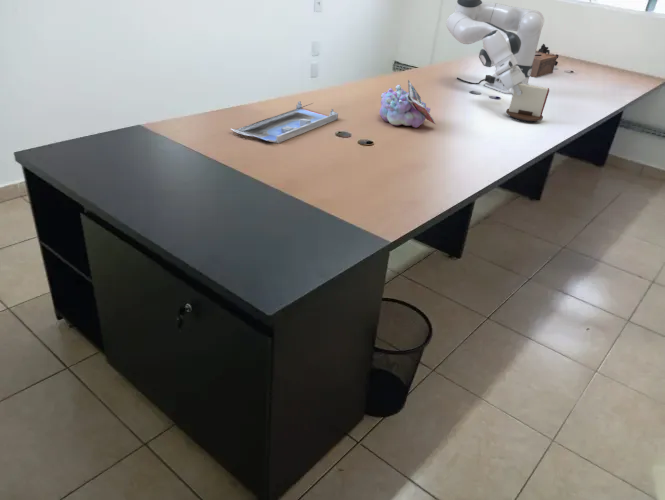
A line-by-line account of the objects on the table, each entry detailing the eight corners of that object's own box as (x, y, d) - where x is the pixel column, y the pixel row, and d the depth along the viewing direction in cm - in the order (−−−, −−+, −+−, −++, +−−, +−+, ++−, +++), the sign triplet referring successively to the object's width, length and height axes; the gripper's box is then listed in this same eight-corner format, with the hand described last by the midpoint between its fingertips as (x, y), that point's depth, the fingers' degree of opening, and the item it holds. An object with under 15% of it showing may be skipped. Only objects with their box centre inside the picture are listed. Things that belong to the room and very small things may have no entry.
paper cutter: (337, 119, 218) (339, 105, 215) (267, 147, 184) (268, 131, 181) (300, 108, 225) (301, 94, 222) (226, 133, 191) (226, 117, 188)
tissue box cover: (530, 67, 351) (535, 51, 346) (552, 72, 343) (557, 56, 338) (513, 71, 333) (517, 54, 328) (535, 77, 326) (540, 59, 321)
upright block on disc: (505, 116, 241) (513, 86, 234) (506, 107, 254) (513, 79, 247) (543, 123, 238) (552, 93, 231) (541, 113, 251) (550, 85, 244)
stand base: (504, 116, 246) (505, 113, 245) (517, 112, 254) (518, 110, 253) (529, 124, 239) (529, 121, 239) (541, 120, 247) (542, 117, 246)
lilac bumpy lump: (373, 99, 230) (382, 67, 214) (423, 100, 233) (435, 69, 217) (380, 138, 221) (389, 108, 205) (431, 139, 224) (445, 109, 208)
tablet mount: (517, 66, 385) (518, 47, 371) (526, 52, 389) (527, 33, 375) (556, 75, 372) (558, 56, 359) (564, 60, 376) (567, 41, 363)
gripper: (507, 66, 251) (521, 93, 252) (493, 72, 235) (509, 101, 236) (519, 59, 246) (534, 86, 248) (507, 64, 231) (522, 93, 232)
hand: (522, 93), depth 242 cm, fingers closed on upright block on disc, 4 cm apart
